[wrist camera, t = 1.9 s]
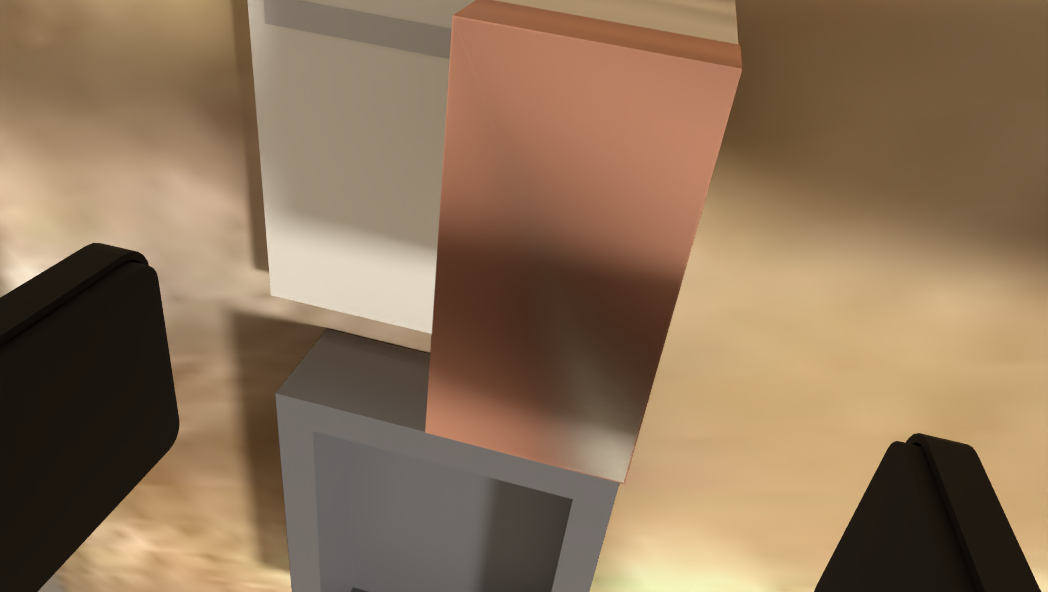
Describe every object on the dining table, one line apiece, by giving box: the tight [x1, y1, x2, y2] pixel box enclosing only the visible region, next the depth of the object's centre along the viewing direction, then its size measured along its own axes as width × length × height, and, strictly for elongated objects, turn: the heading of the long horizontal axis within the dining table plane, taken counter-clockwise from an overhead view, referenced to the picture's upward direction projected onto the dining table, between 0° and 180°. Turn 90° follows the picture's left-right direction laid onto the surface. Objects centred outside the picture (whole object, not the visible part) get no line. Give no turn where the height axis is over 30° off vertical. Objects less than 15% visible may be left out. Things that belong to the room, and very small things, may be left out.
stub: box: [425, 0, 742, 484], centre depth 14 cm, size 7×4×7 cm, turn 173°
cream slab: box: [247, 0, 475, 334], centre depth 17 cm, size 12×6×1 cm, turn 173°
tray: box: [275, 329, 619, 592], centre depth 23 cm, size 12×9×3 cm
